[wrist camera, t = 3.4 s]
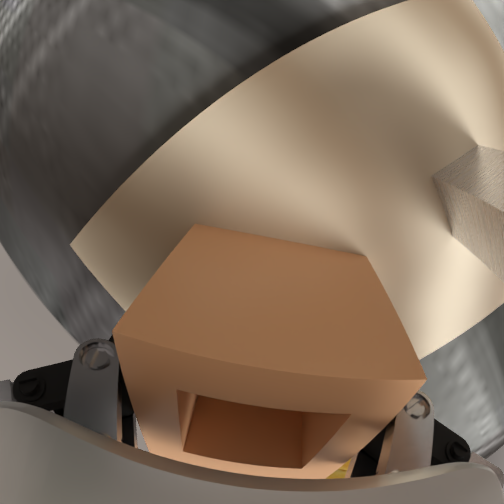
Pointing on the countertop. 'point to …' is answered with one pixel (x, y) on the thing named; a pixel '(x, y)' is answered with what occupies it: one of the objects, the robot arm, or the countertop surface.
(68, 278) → the countertop surface
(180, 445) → the square hollow tube
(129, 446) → the robot arm
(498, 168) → the square shaft
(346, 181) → the base board
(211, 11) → the countertop surface
